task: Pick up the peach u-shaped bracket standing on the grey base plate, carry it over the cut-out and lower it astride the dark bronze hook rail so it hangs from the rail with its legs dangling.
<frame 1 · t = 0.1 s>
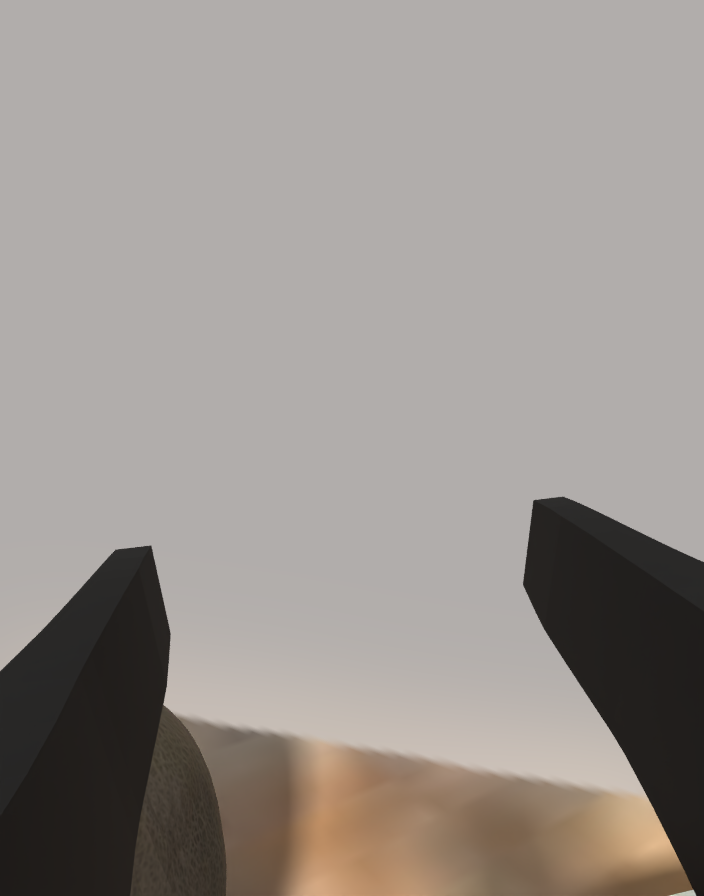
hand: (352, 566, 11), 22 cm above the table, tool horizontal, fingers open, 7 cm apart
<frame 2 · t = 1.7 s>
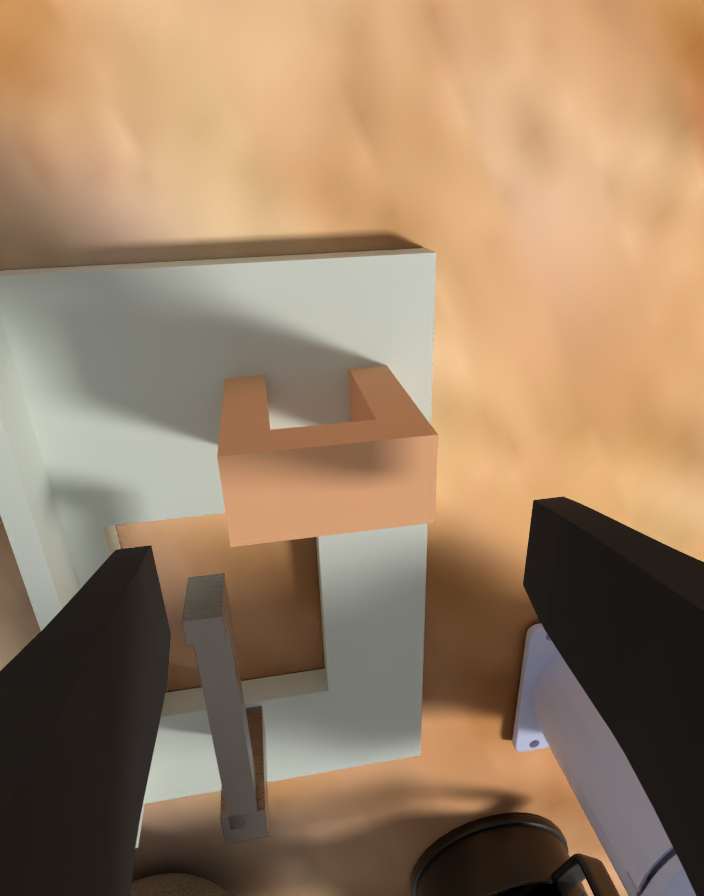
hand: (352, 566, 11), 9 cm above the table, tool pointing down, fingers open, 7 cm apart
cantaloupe: (145, 893, 30), on the table
peach u-shaped bracket: (309, 407, 18), point 1 cm above the table, touching grey base plate
hook arm: (231, 606, 23), resting in grey base plate
french press: (492, 856, 34), on the table
grey base plate: (251, 562, 22), on the table
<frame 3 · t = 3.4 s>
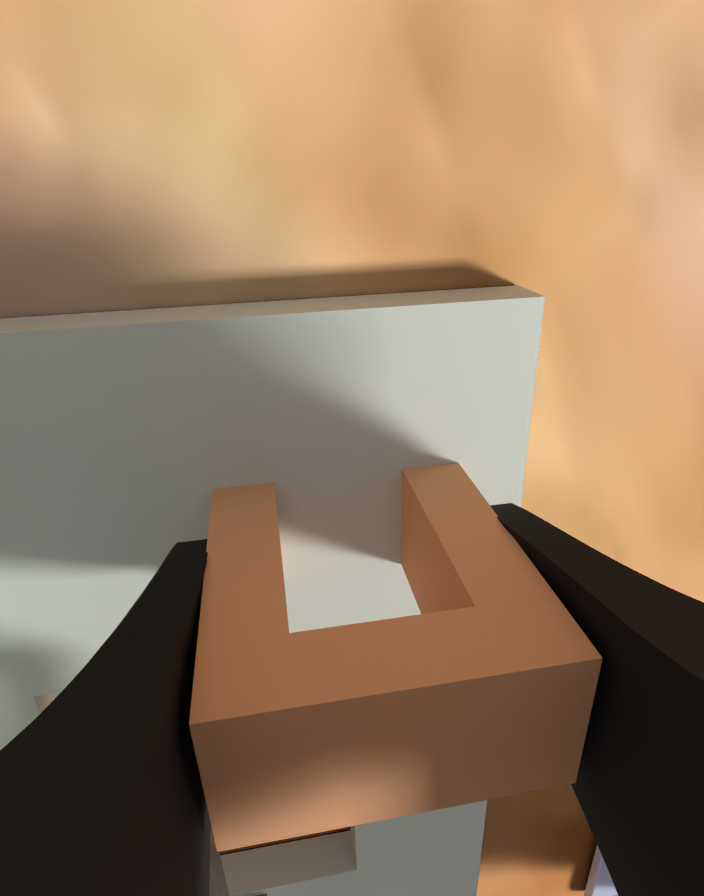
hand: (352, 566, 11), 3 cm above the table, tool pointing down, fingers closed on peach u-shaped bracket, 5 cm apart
peach u-shaped bracket: (341, 525, 12), point 1 cm above the table, touching gripper, grey base plate
hook arm: (224, 767, 16), resting in grey base plate
grey base plate: (253, 713, 16), on the table
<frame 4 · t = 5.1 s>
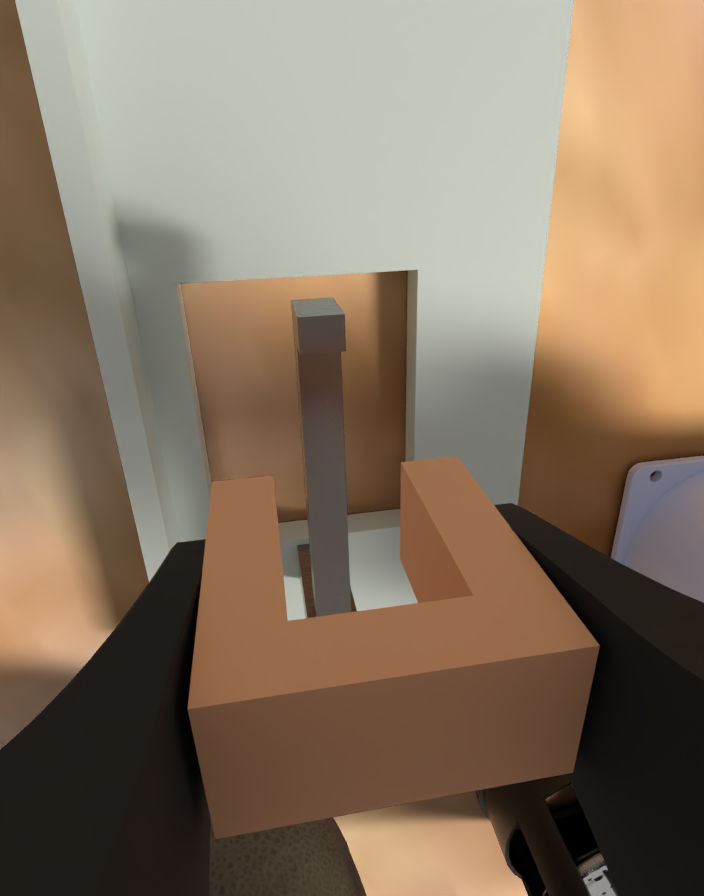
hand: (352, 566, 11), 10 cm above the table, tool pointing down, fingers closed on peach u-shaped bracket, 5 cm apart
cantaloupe: (193, 785, 27), on the table
peach u-shaped bracket: (340, 518, 12), point 8 cm above the table, touching gripper
hook arm: (307, 420, 20), resting in grey base plate
french press: (564, 757, 31), on the table
grey base plate: (333, 362, 19), on the table
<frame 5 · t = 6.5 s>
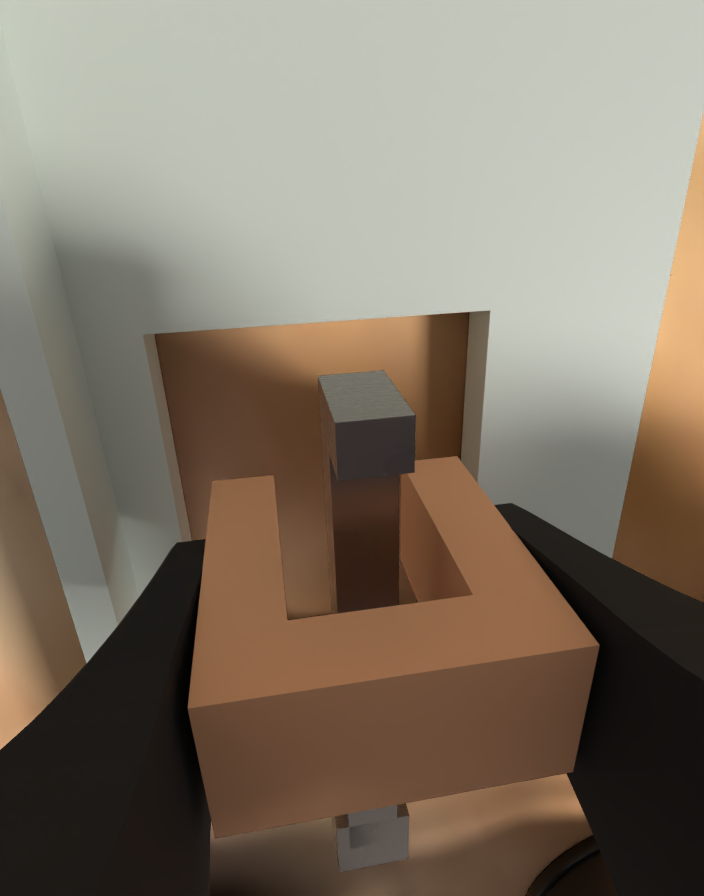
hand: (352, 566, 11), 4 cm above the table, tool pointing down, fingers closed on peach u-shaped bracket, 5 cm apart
peach u-shaped bracket: (340, 518, 12), point 2 cm above the table, touching gripper
hook arm: (328, 505, 15), resting in grey base plate
french press: (626, 872, 26), on the table
grey base plate: (364, 430, 14), on the table
when the fingers open (4 cm above the table, at t = 7.2 s): peach u-shaped bracket drops 1 cm, resting on hook arm.
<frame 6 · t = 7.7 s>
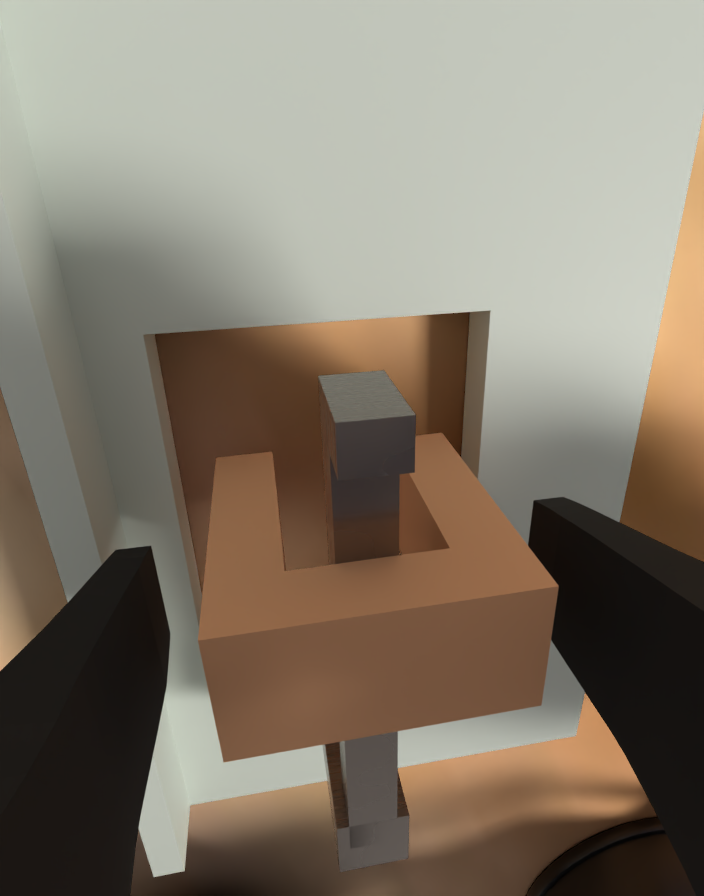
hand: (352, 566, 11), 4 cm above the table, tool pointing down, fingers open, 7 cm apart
peach u-shaped bracket: (334, 492, 13), point 1 cm above the table, touching hook arm
hook arm: (328, 505, 15), resting in grey base plate
french press: (626, 872, 26), on the table
grey base plate: (364, 430, 14), on the table
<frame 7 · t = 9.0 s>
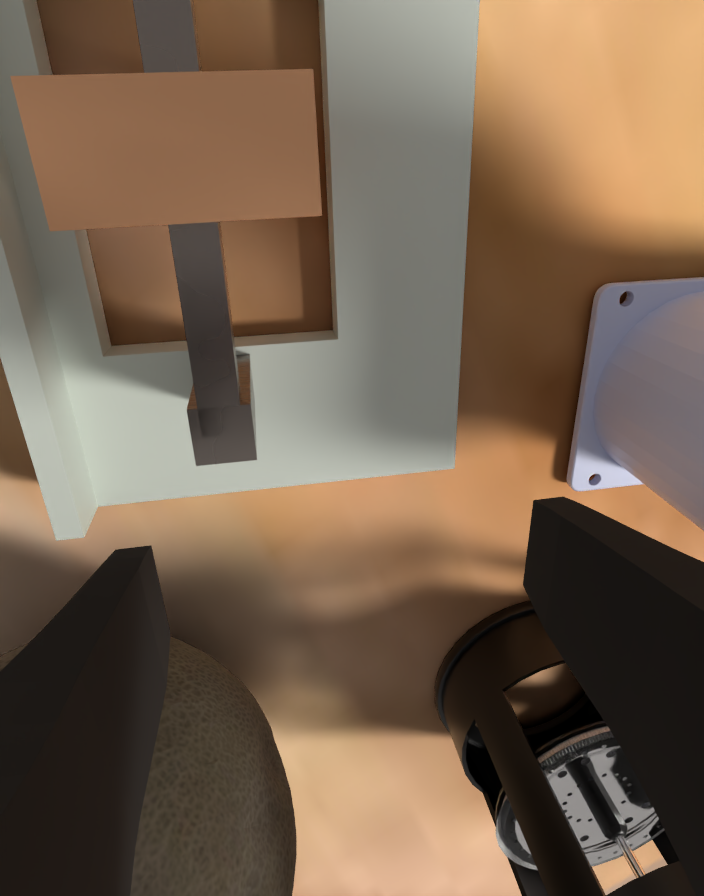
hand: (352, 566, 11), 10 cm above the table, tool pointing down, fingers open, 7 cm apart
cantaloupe: (108, 679, 24), on the table
peach u-shaped bracket: (200, 158, 15), point 1 cm above the table, touching hook arm
hook arm: (207, 202, 17), resting in grey base plate
french press: (532, 664, 28), on the table
grey base plate: (234, 122, 16), on the table
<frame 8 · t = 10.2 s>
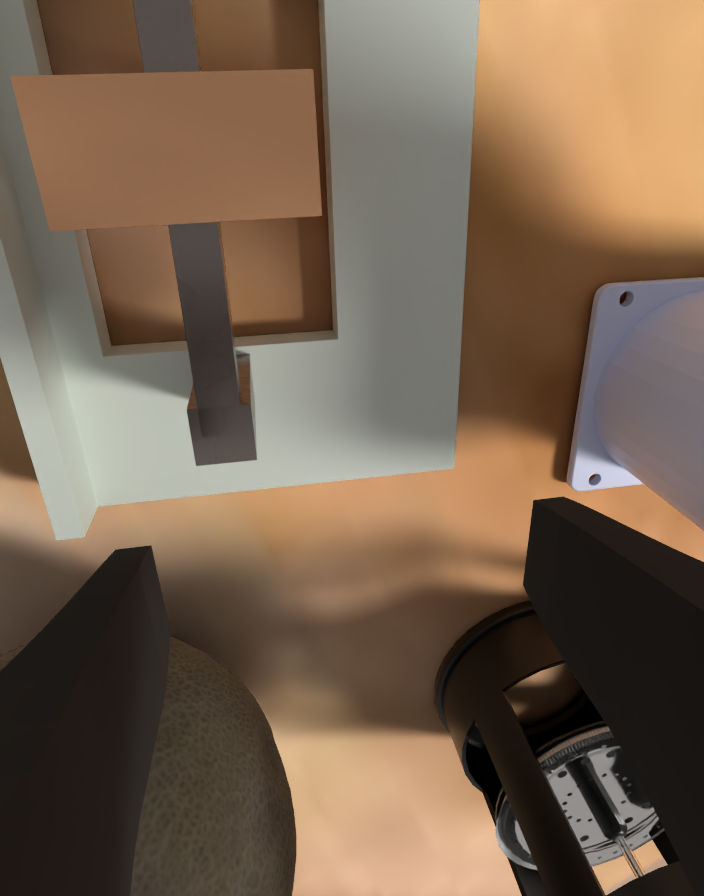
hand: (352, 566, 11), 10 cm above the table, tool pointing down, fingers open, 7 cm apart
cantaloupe: (108, 679, 24), on the table
peach u-shaped bracket: (200, 158, 15), point 1 cm above the table, touching hook arm
hook arm: (207, 202, 17), resting in grey base plate
french press: (532, 664, 28), on the table
grey base plate: (234, 122, 16), on the table
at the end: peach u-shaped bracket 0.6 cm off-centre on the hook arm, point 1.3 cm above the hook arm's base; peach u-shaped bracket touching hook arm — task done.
